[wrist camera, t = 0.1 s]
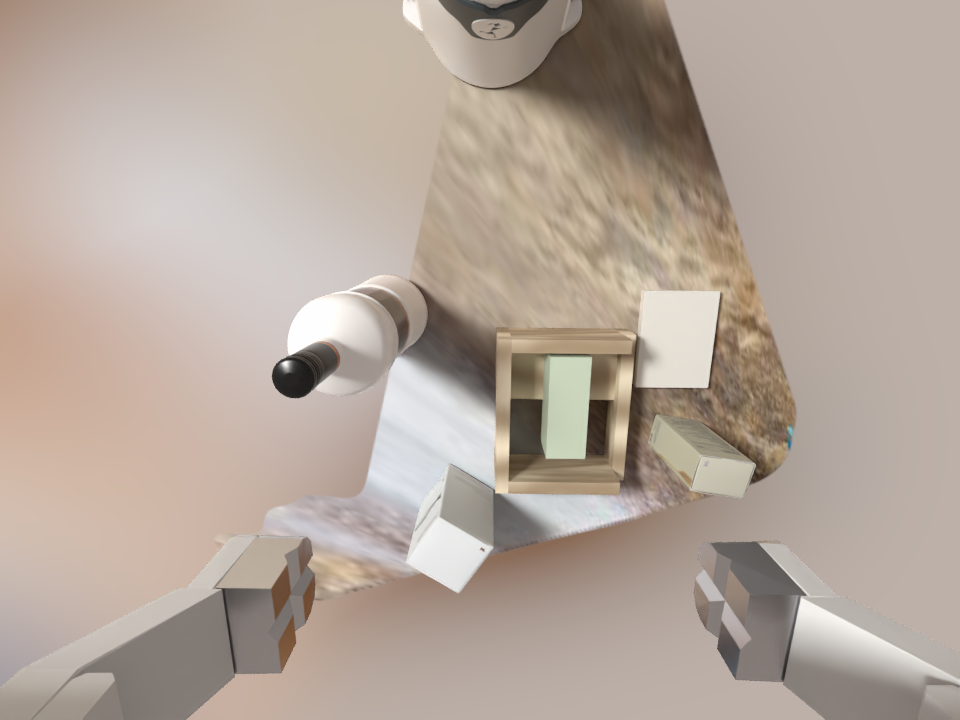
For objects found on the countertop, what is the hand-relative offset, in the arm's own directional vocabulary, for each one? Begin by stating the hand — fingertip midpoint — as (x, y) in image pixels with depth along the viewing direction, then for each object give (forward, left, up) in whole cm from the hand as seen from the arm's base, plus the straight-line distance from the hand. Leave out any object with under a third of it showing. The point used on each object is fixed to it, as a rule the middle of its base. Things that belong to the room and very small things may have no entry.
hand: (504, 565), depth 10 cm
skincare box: (+17, +24, -48) cm, 56 cm away
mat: (+4, +23, -48) cm, 53 cm away
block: (+11, +9, -45) cm, 48 cm away
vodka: (+1, -12, -48) cm, 50 cm away
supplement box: (+26, -4, -48) cm, 55 cm away
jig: (+12, +9, -48) cm, 50 cm away
